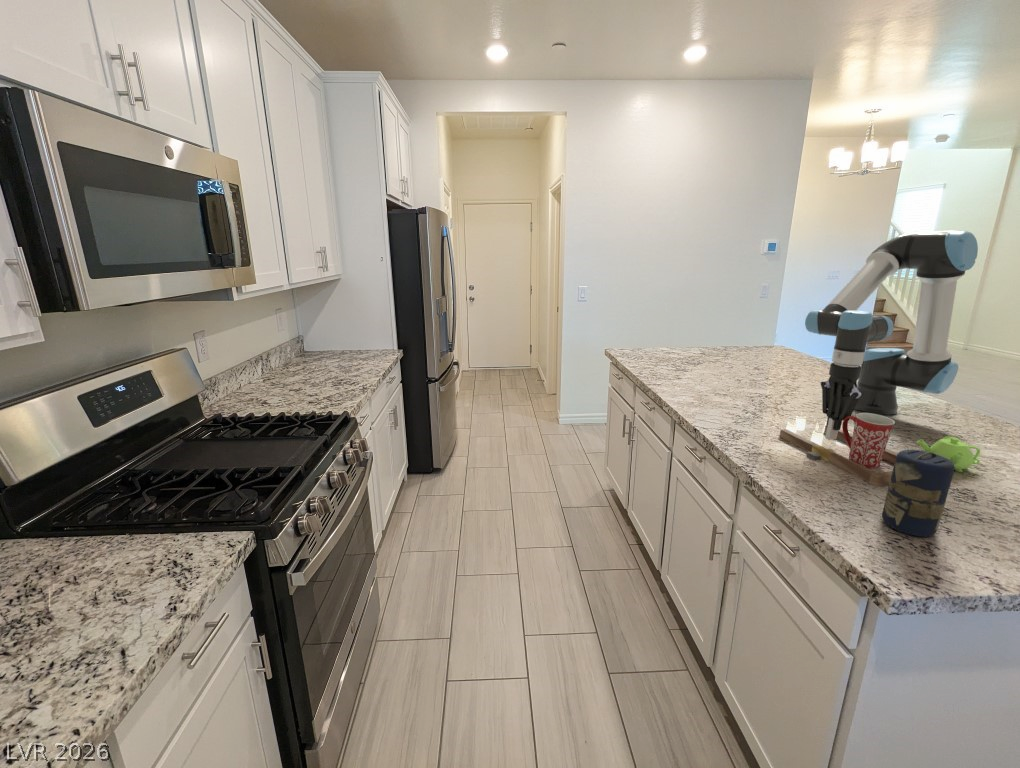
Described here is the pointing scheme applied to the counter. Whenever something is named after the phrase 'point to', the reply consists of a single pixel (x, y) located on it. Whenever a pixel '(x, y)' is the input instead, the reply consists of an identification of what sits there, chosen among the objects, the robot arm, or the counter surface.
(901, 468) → the canister
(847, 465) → the beam slot
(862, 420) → the mug
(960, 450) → the teapot
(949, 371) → the robot arm
